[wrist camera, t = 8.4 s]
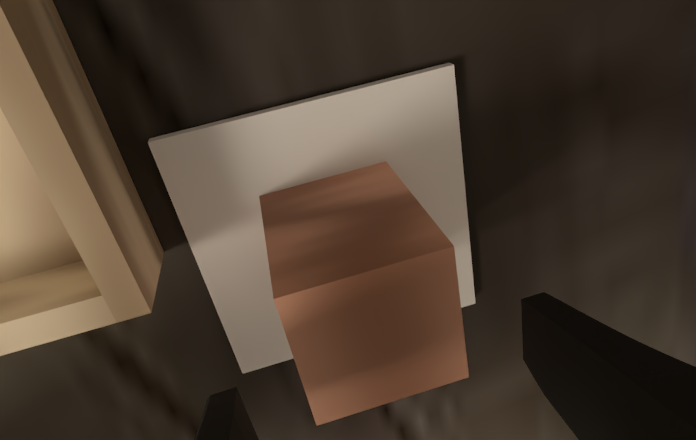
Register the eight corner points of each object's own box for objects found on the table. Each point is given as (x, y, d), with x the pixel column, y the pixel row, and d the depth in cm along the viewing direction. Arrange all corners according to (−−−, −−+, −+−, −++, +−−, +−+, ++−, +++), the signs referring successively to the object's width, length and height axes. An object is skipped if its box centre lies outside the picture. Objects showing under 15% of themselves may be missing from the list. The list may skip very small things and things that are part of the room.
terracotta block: (291, 300, 19) (316, 425, 14) (259, 195, 17) (273, 299, 12) (404, 266, 20) (468, 377, 14) (385, 161, 18) (454, 246, 12)
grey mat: (242, 366, 21) (242, 373, 20) (149, 138, 16) (147, 142, 16) (471, 298, 22) (475, 303, 21) (449, 62, 17) (453, 64, 16)
